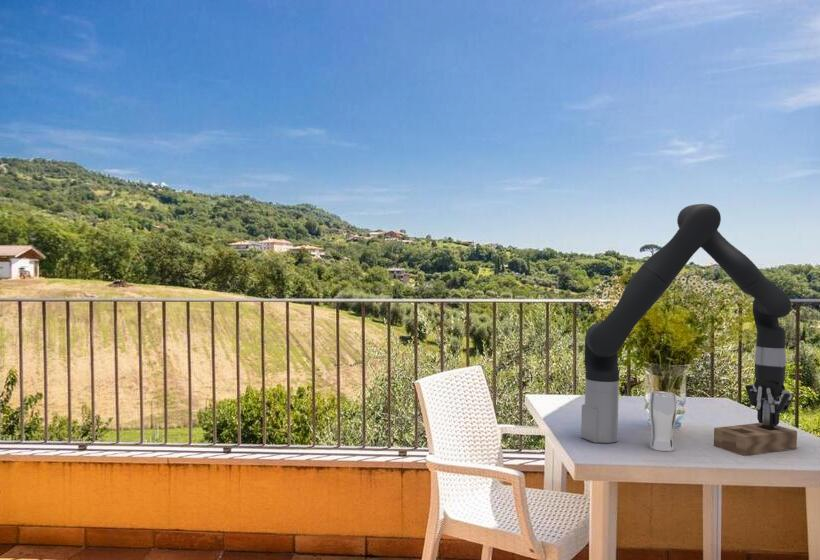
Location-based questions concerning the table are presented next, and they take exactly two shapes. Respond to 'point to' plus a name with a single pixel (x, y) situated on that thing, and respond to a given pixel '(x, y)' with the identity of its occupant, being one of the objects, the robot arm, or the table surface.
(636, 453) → the table surface
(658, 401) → the beer glass
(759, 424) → the hole block
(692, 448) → the table surface
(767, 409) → the peg
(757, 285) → the robot arm
